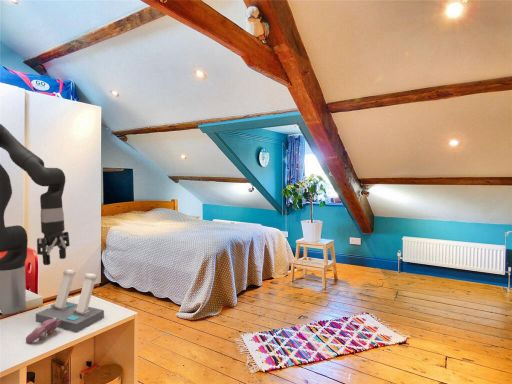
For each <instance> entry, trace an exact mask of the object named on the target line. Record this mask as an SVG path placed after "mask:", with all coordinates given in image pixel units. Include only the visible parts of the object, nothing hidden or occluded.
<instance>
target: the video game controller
mask: <svg viewBox="0 0 512 384" xmlns="http://www.w3.org/2000/svg"><path fill="white" fill-rule="evenodd" d="M60 324H61V320H60V319H58V318H55V317H54V318H53V319H49V320H46V321H44V322H43V323H40V325H38V326H36V328H35V329H34V330H32V331H31V332H30V333H29V334H28V335H27V336H26V337H25V341H26V343H27V344H30V343H33V342H35V341H37V340H38V339H39V340H40V341H41V340H44V339H45V337H46V336H47V335H48V336H50V335H52V334H53V333H54V332H55V330H57V328H58V326H59V325H60Z"/></svg>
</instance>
